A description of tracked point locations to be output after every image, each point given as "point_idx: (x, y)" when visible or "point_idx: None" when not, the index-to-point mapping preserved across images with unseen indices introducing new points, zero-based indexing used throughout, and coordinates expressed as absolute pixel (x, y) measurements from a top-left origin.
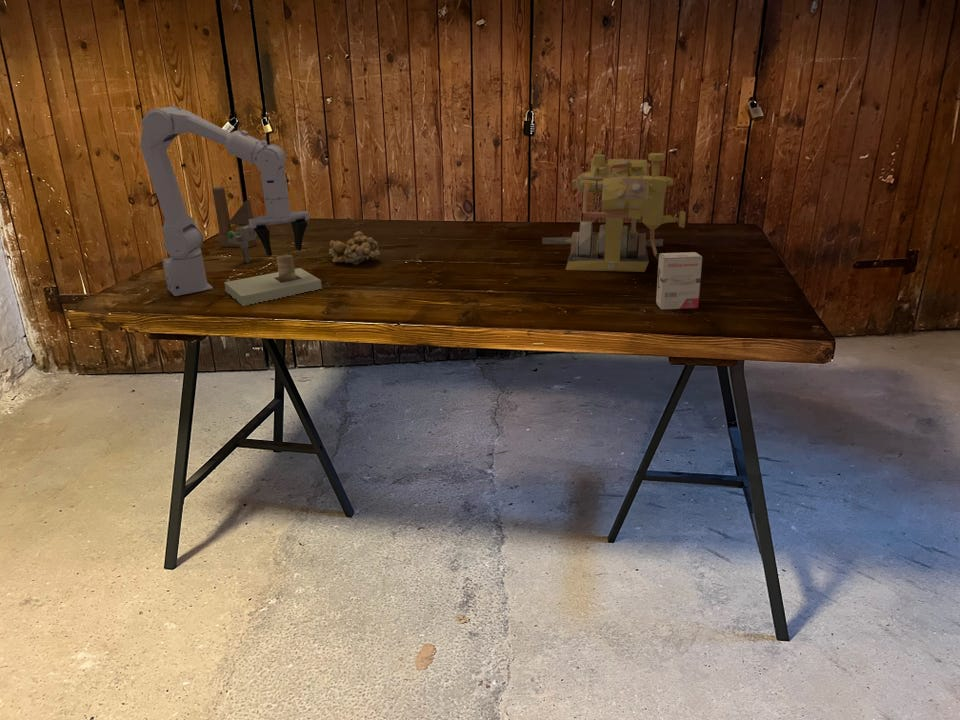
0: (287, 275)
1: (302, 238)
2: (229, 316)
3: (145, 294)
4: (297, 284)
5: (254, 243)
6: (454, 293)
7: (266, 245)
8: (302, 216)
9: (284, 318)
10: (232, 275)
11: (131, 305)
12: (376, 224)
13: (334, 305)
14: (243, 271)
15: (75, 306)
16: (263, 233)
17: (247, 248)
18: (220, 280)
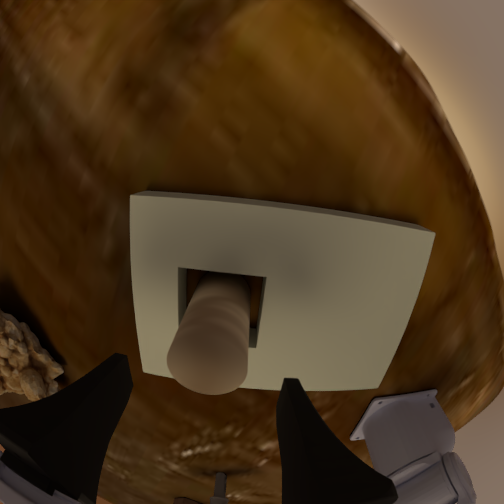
0: (228, 296)
1: (72, 383)
2: (467, 175)
3: None
4: (227, 207)
5: (178, 500)
6: (9, 8)
7: (322, 419)
8: (8, 480)
9: (377, 33)
10: None
11: (481, 377)
12: None
13: (203, 17)
14: (252, 452)
15: (492, 401)
16: (369, 481)
17: (214, 494)
18: None
